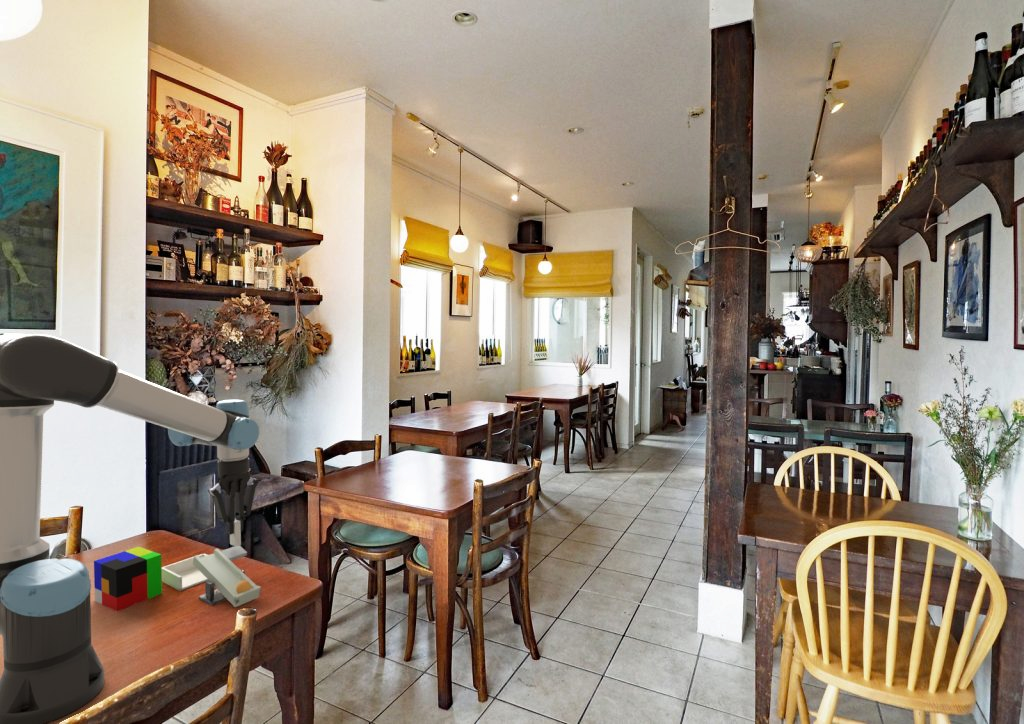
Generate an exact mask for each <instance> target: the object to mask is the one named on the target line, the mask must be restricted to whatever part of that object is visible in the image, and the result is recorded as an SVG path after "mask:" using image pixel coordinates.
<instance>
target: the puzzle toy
mask: <svg viewBox="0 0 1024 724" xmlns="http://www.w3.org/2000/svg"><path fill="white" fill-rule="evenodd" d="M161 567H162V554H161V553H158V552H156V551H152V550H150V549H147V548H144V547H141V546H136V547H134V548H130V549H127V550H125V551H121V552H118V553H116V554H112V555H109V556H105V557H102V558H99V559H96V560H93V577H94V580H93V584H94V602H96V603H98V604H100V605H103V606H104V607H106V608H109V609H111V610H114V611H115V612H119V611H122V610H125V609H127V608H130V607H132V606H135V605H137V604H139V603H142V602H144V601H147V600H149V599H151V598H154V597H156V596H159V595H162V594H163V588H162V587H163V584H162V583H163V582H162V568H161Z"/></svg>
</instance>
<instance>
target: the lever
mask: <svg viewBox="0 0 1024 724" xmlns="http://www.w3.org/2000/svg"><path fill="white" fill-rule="evenodd" d="M198 555H199V554H196V555H194V556H193V557H194V559H193V564H194V565H195V566H196V568H197V569H198V570H199V571H200V572H201V573H202V574H203V575H204V576H205V577H206V578H207V579H208V581H212V582H214V588H216V589H218V590H219V591H220V592H221V593H222V594H223V595H224V596H225V597H226V598H227V600H226V601H228V602H229V603H231V605H232V606H233V608H237V607H240V606H241V605H244V604H246V603H249V602H251V601H253V600H255V599H258V598H260V595H261V594H260V593H261V589H262V587H261V586H260V585H257V584H256V583H255V582H254V581H252V580H251V578H250V577H248V576H247V574H246V573H245V574H244V573H243V572H242V571H241V570H240V569H241V568H239V567H238V566H236V564H234V563H233V561H235V560H238V559H241V558H243V557H247V555H248V551H246V549H244V548H243V547H242V546H241V545H238V546H232V547H229V548H226V549H222V550H221V549H219V548H214V551H213V553H211V554H207V556H204V557H201V558H200V557H199V556H198ZM244 580H246V581H248V582H250V584H251V589H250V590H247V591H245V592H242V593H240V594H238V593H237V591H236V587H237V585H238V583H239V582H241V581H244Z"/></svg>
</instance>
